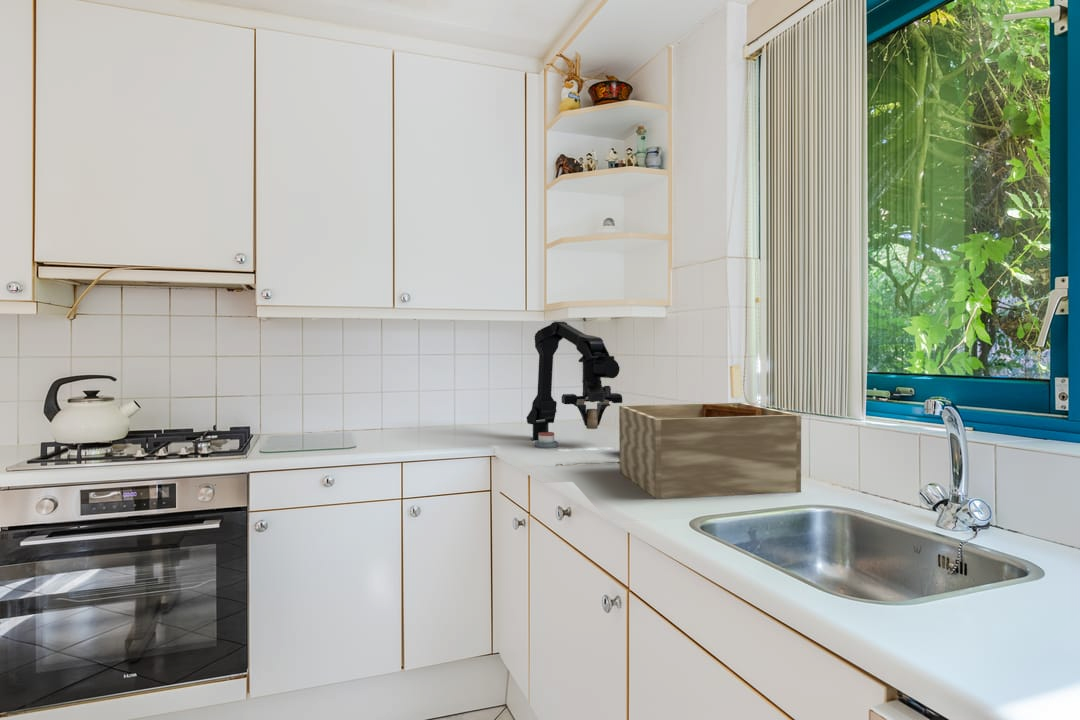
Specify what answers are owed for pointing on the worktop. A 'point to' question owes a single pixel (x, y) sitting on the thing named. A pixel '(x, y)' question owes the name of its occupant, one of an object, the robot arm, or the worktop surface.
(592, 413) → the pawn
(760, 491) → the crate
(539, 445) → the board
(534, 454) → the worktop surface
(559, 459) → the worktop surface
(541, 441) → the dome
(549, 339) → the robot arm
